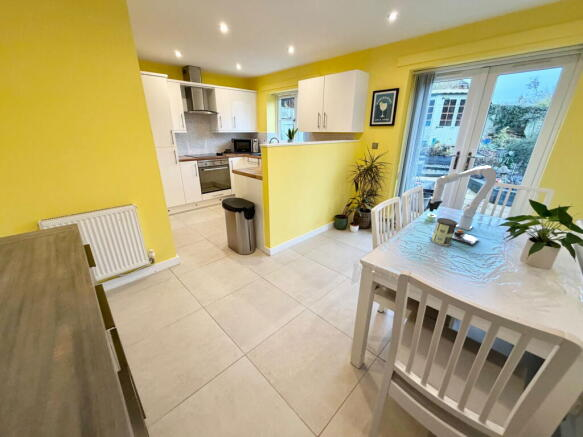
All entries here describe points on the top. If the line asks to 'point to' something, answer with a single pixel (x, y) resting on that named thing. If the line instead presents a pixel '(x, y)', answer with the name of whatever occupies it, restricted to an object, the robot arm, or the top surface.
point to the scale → (458, 238)
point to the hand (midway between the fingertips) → (433, 210)
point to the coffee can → (444, 231)
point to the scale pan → (468, 237)
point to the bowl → (431, 217)
